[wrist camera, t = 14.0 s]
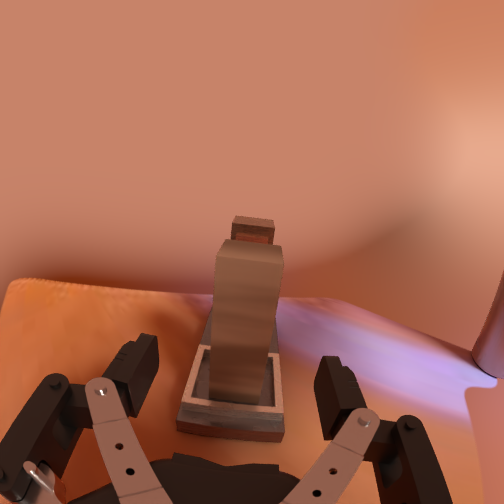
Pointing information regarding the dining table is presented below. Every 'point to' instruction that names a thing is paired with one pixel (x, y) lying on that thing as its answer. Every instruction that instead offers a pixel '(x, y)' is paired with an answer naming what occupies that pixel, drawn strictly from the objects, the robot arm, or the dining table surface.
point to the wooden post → (243, 318)
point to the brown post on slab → (231, 412)
